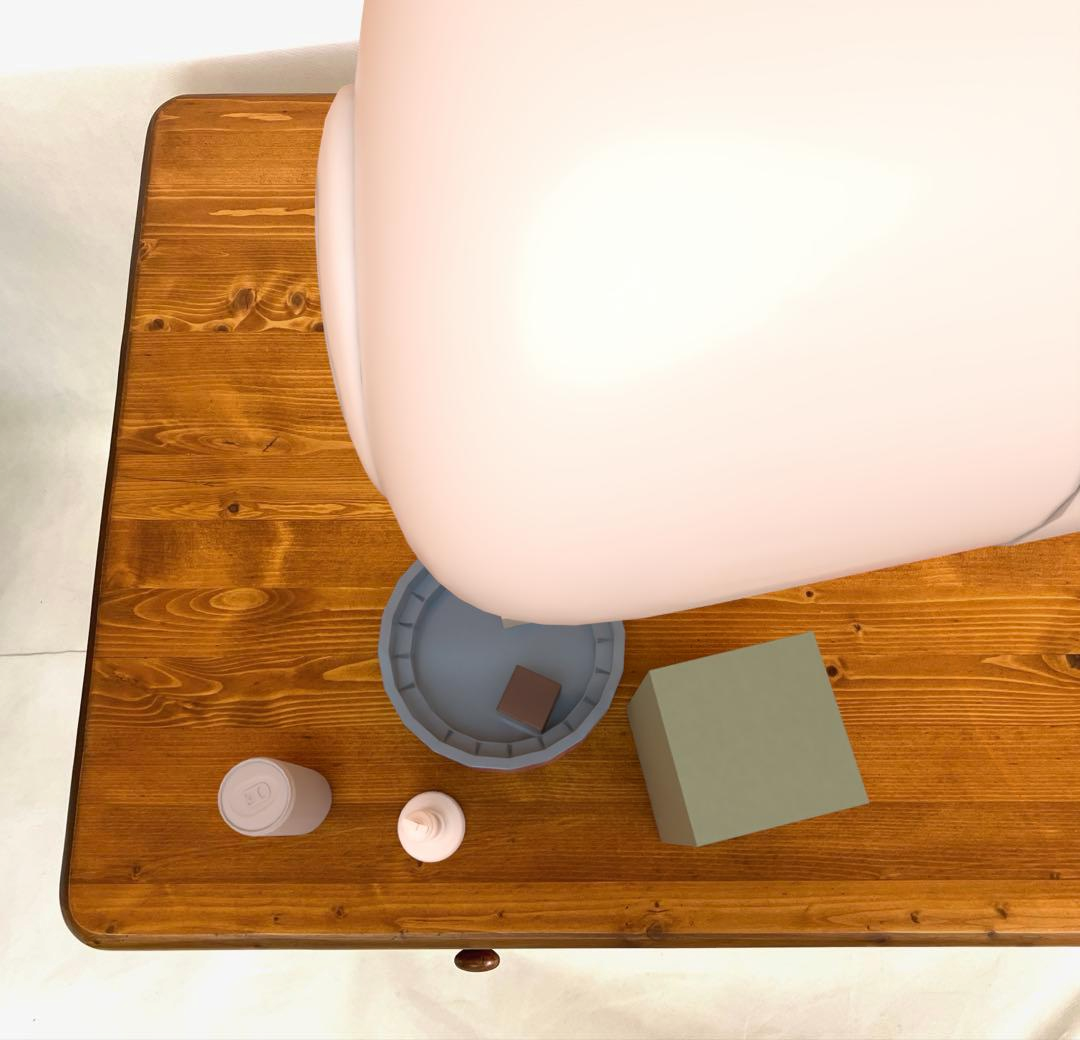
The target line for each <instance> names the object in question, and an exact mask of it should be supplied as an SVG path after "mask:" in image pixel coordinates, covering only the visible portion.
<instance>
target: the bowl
mask: <svg viewBox="0 0 1080 1040" xmlns="http://www.w3.org/2000/svg"><path fill="white" fill-rule="evenodd" d="M625 647H626V630H625V626H624V622H623V620H621V621H612V622H602V623H593V624H583V625H543V624H537V623H528V624H524V625H519V626H514V627H510V628H505V629H504V627H503V623H502V618H501V616H498V615H494V614H491V613H488V612H485V611H482V610H480V609H478V608H477V607H475V606H473V605H471V604H469V603H467V602H465V601H463V600H461V599H459V598H458V597H457V596H455V595H454V594H453V593H452V592H450V591H449V590H448V589H447V588H445V587H444V586H443V585H442V584H440V583H439V582H438V581H437V580H436V579H435V578H434V577H433V575H432V574H431V573H430V572H429V571H428V570H427V568H426V567H425V566H424V565H423V564H422V563H421V562H420V560H419V559H418V558H416V559H415V561H414V562H413V563H412V564H411V565H410V566H409V567H408V568H407V569H406V571H405V572H404V573H403V574H402V575H400V577H399V578H398V580H397V582H396V583H395V586H394V588H393V590H392V592H391V595H390V596H389V599H388V601H387V603H386V605H385V607H384V609H383V612H382V614H381V621H380V627H379V636H378V644H377V650H376V651H377V658H378V664H379V668H380V674H381V679H382V685H383V689H384V692H385V694H386V696H387V697H388V700H389V701H390V703H391V705H392V707H393V708H394V709H395V712H396V713H397V716H398V717H399V719H400V721H401V723H402V725H403V726H405V728H407V729H408V730H409V731H410V732H411V733H412V734H414V736H416V737H417V739H419V740H420V741H421V742H422V743H423V744H425V745H426V746H427V748H429V749H430V750H431V751H432V752H434V753H435V754H436V755H438V756H439V757H442V758H443V759H446V760H449V761H451V762H453V763H456V764H458V765H460V766H463V767H464V768H467V769H469V770H472V771H474V772H483V773H494V774H495V773H496V774H507V775H508V774H509V775H514V774H518V773H522V772H526V771H531V770H534V769H538V768H543V767H547V766H550V765H551V764H553V763H555V762H556V761H559V760H560V759H561V758H563V757H565V756H566V755H568V754H569V753H571V752H572V751H574V750H576V749H577V748H578V747H580V746H581V745H583V744H584V742H586V740H587V739H588V738H589V737H590V735H591V734H592V733H593V731H595V729H596V728H597V726H599V724H600V723H601V722H602V721H603V719H604V718H605V717H606V716H607V713H608V711H609V710H610V707H611V704H612V702H613V700H614V696H615V694H616V691H617V689H618V687H619V684H620V681H621V679H622V676H623V673H624V669H625V668H624V667H625V652H626V651H625V649H626V648H625ZM517 665H519V666H522V667H524V668H526V669H528V670H530V671H533V672H535V673H537V674H539V675H542V676H544V677H546V678H548V679H550V680H553V681H555V682H557V683H559V684H561V685H562V690H561V694H560V696H559V699H558V701H557V703H556V705H555V708H554V710H553V712H552V714H551V717H550V719H549V721H548V723H547V726H546V728H545V730H544V732H543V734H541V735H539V734H537V733H535V732H533V731H531V730H529V729H526V728H524V727H522V726H520V725H518V724H516V723H513V722H511V721H509V720H507V719H505V718H503V717H500V716H499V715H498V713H497V710H496V709H497V707H498V704H499V702H500V700H501V698H502V696H503V694H504V691H505V689H506V687H507V685H508V683H509V681H510V678H511V676H512V674H513V672H514V670H515V668H516V666H517Z"/></svg>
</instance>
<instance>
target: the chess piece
mask: <svg viewBox="0 0 1080 1040" xmlns="http://www.w3.org/2000/svg"><path fill="white" fill-rule="evenodd" d="M465 833H466V819H465V815H464V812H463V810H462V808H461V806H460V805H459V802H457V801H456V800H455V799H454V798H453V797H451V796H450V795H448V794H446V793H444V792H441V791H434V790H433V791H425V792H422V793H418V794H417V795H415V796H414V797H412V798H411V799H410V800H409V801H408V802H406V804H405V805H404V807H403V808H402V810H401V812H400V814H399V816H398V821H397V835H398V839H399V842H400V844H401V846H402V848H403V850H405V852H406V853H407V854H408V855H410V856H411V857H412V858H414V859H415V860H418V861H420V862H424V863H436V862H437V863H438V862H440V861H443V860H446V859H447V858H450V856H452V855H453V854H454V853H455V852H456V851H457V850H458V849H459V847H460V845H462V842H463V839H464V836H465Z"/></svg>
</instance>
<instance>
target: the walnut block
mask: <svg viewBox="0 0 1080 1040" xmlns="http://www.w3.org/2000/svg"><path fill="white" fill-rule="evenodd" d="M561 690H562V685H561V684H559V683H557V682H555V681H553V680H550V679H548V678H546V677H544V676H542V675H539V674H537V673H535V672H533V671H530V670H528V669H526V668H524V667H522V666H519V665H517V666H516V668H515V670H514V672H513V674H512V676H511V678H510V681H509V683H508V685H507V687H506V689H505V691H504V694H503V696H502V698H501V700H500V702H499V704H498V707H497V709H496V710H497V713H498V715H499V716H500V717H503V718H505V719H507V720H509V721H511V722H513V723H516V724H518V725H520V726H522V727H524V728H526V729H529V730H531V731H533V732H535V733H537V734H539V735H541V734H543V732H544V730H545V728H546V726H547V723H548V721H549V719H550V717H551V714H552V712H553V710H554V708H555V705H556V703H557V701H558V699H559V696H560V694H561Z"/></svg>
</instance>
